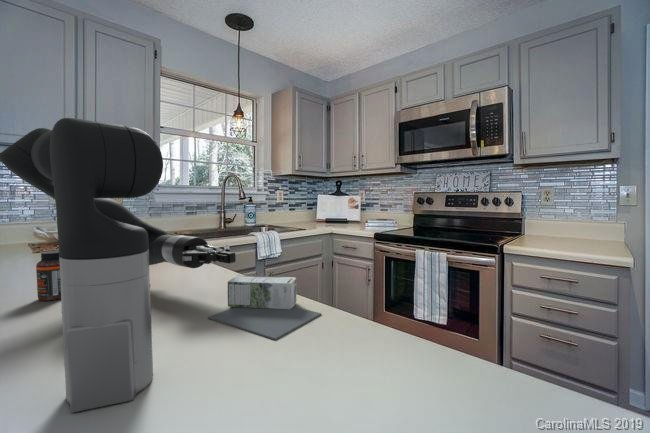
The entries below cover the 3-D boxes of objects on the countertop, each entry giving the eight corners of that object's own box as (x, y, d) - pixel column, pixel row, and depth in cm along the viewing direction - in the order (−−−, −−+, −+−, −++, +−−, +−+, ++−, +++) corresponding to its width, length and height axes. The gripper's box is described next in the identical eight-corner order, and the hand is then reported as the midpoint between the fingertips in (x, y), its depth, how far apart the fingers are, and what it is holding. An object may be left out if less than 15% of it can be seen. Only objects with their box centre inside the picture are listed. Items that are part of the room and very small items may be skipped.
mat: (207, 318, 64) (207, 316, 64) (258, 299, 75) (258, 298, 75) (275, 340, 54) (275, 338, 54) (321, 314, 66) (321, 313, 66)
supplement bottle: (31, 300, 75) (28, 253, 74) (58, 293, 81) (56, 249, 80) (49, 303, 73) (46, 254, 73) (76, 295, 79) (73, 250, 78)
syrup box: (236, 299, 75) (297, 301, 74) (226, 307, 69) (292, 309, 68) (236, 275, 75) (297, 276, 73) (226, 281, 69) (292, 283, 67)
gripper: (158, 238, 73) (206, 244, 64) (207, 233, 84) (254, 237, 75) (159, 271, 73) (207, 281, 64) (208, 261, 84) (255, 269, 75)
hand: (232, 258), depth 69 cm, fingers closed
